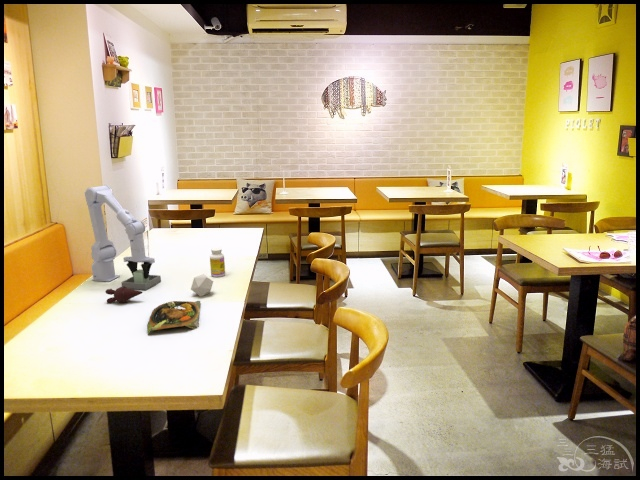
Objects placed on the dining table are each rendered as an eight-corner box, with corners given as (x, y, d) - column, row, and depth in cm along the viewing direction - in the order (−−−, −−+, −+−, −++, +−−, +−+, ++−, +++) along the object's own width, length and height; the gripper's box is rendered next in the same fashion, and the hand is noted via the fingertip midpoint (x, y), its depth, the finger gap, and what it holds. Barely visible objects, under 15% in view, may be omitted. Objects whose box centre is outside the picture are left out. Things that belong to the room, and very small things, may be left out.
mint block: (134, 285, 221) (133, 272, 219) (140, 281, 225) (139, 269, 223) (143, 285, 220) (141, 273, 218) (149, 282, 224) (147, 269, 222)
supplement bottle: (222, 277, 230) (220, 251, 227) (208, 277, 231) (206, 250, 228) (227, 273, 237) (225, 247, 233) (214, 272, 238) (212, 247, 235)
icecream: (144, 283, 205) (108, 287, 205) (138, 284, 198) (101, 289, 198) (146, 299, 205) (110, 303, 205) (140, 301, 198) (103, 306, 198)
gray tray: (122, 288, 218) (121, 282, 217) (138, 280, 229) (137, 274, 229) (145, 290, 215) (145, 284, 214) (161, 281, 226) (160, 275, 226)
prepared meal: (153, 298, 196) (199, 293, 200) (154, 307, 197) (200, 301, 200) (144, 329, 170) (197, 323, 173) (145, 339, 171) (198, 332, 174)
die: (204, 290, 216) (189, 275, 211) (219, 282, 213) (204, 266, 208) (199, 303, 209) (183, 288, 204) (215, 295, 206) (199, 279, 201)
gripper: (157, 246, 220) (160, 275, 223) (129, 245, 224) (132, 273, 227) (148, 251, 213) (151, 280, 217) (119, 249, 217) (122, 278, 220)
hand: (141, 277), depth 221 cm, fingers open, 5 cm apart
